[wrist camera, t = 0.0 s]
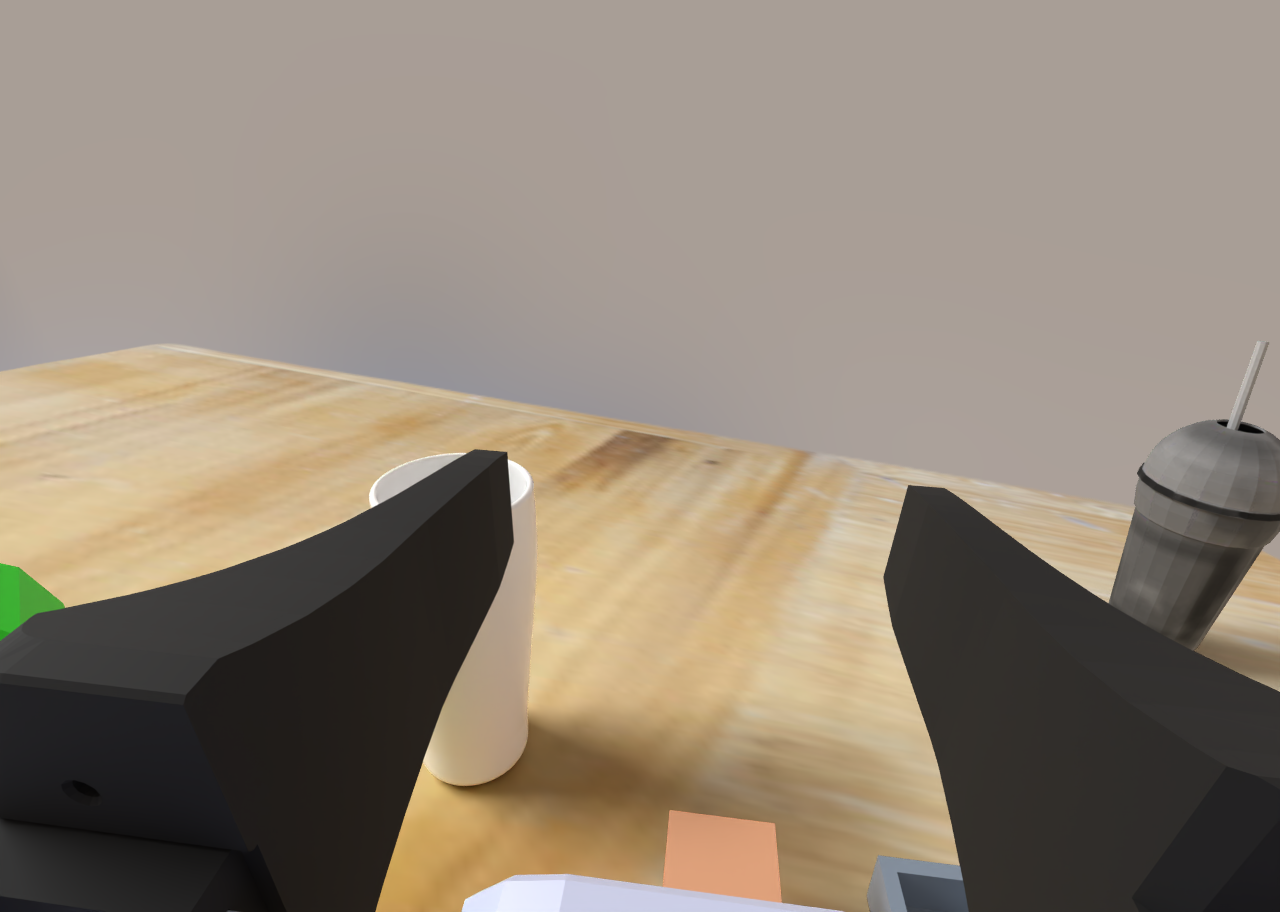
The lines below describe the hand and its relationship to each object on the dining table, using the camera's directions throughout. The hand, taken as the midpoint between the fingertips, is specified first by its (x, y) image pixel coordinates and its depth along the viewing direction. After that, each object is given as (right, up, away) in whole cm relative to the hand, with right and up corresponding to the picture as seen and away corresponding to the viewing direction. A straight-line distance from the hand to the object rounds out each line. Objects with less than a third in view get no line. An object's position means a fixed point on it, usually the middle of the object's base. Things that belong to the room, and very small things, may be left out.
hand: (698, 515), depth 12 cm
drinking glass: (-9, -14, +22) cm, 27 cm away
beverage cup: (+32, -12, +31) cm, 46 cm away
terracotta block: (+2, -18, +13) cm, 22 cm away
